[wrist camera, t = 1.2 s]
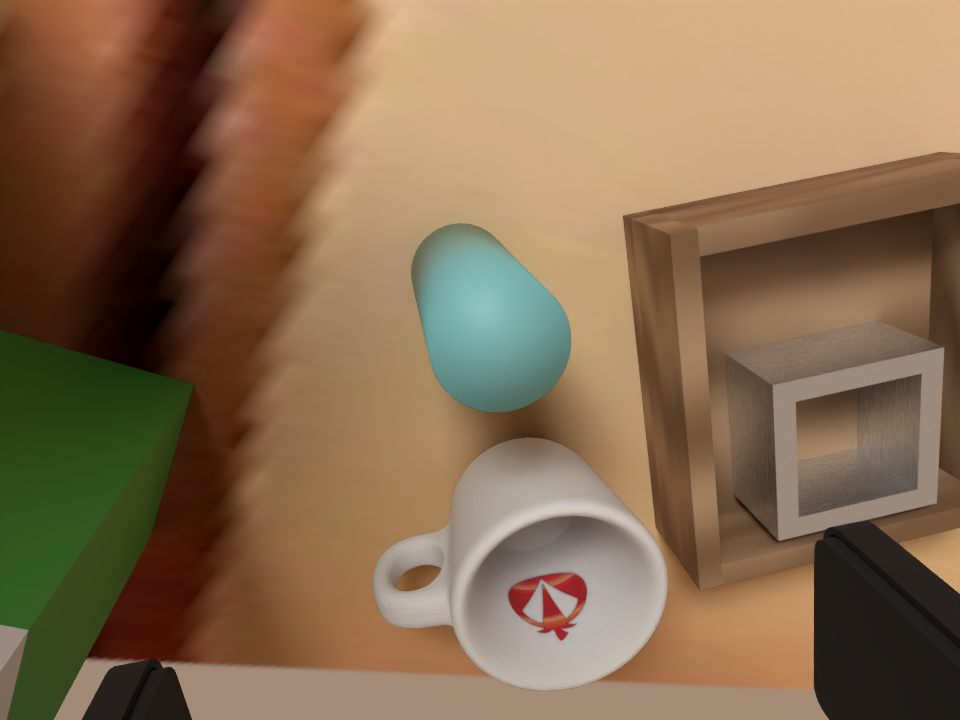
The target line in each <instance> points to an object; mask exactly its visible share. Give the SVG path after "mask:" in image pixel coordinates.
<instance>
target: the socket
mask: <svg viewBox="0 0 960 720" xmlns="http://www.w3.org/2000/svg"><path fill="white" fill-rule="evenodd" d="M943 364H944V347H942V346H940V345H937V344H935V343H933V342H930V341H928V340H925V339H923V338H920V337H918V336H915V335H913V334H910V333H908V332H905V331H903V330H900V329H898V328H895V327H893V326H890V325H888V324H885V323H883V322H880V321H878V320H874V321H870V322H865V323H860V324H856V325H851V326H846V327H842V328H837V329H833V330H828V331H823V332H819V333H814V334H810V335H805V336H800V337H796V338H791V339H787V340H782V341H777V342H773V343H768V344H763V345H759V346H754V347H750V348H745V349H740V350H736V351H731V352H727V353H725V368H726V384H727V400H728V417H729V433H730V449H731V465H732V481H733V494H734V495H735V496H736V497H737V498H738V499H739V500H740V501H741V502H742V503H743V504H744V505H745V506H746V507H747V508H748V509H749V510H750V511H751V513H752V514H753V515H754V516H755V517H756V518H757V519H758V520H759V521H760V522H761V523H762V524H763V525H764V526H765V527H766V528H767V529H768V530H769V531H770V532H771V533H772V535H773V536H774V537H775V538H776V539H777V540H778V541H781V540H785V539H789V538H793V537H797V536H802V535H806V534H810V533H814V532H818V531H822V530H826V529H827V528H829V527H833V526H838V525H844V524H849V523H854V522H859V521H864V520H869V519H873V518H877V517H881V516H885V515H890V514H894V513H898V512H902V511H906V510H911V509H915V508H919V507H923V506H927V505H932V504H936V503H937V489H938V469H939V448H940V427H941V406H942V385H943ZM855 388H857V448H854V449H849V450H845V451H841V452H836V453H832V454H828V455H823V456H819V457H815V458H810V459H806V460H802V461H797V433H796V402H797V401H802V400H806V399H811V398H815V397H819V396H824V395H828V394H833V393H837V392H842V391H846V390H851V389H855Z"/></svg>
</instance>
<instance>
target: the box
mask: <svg viewBox="0 0 960 720" xmlns="http://www.w3.org/2000/svg"><path fill="white" fill-rule="evenodd" d="M623 219H624V229H625V238H626V248H627V257H628V267H629V276H630V286H631V295H632V305H633V314H634V324H635V333H636V343H637V352H638V362H639V371H640V380H641V390H642V399H643V409H644V418H645V428H646V437H647V447H648V456H649V466H650V475H651V485H652V494H653V504H654V513H655V523H656V527H657V529H658V530H659V532H660V533H661V535H662V536H663V537H664V539H665V540H666V542H667V543H668V545H669V546H670V548H671V549H672V550H673V552H674V553H675V555H676V556H677V558H678V559H679V561H680V562H681V564H682V565H683V566H684V568H685V569H686V571H687V572H688V574H689V575H690V577H691V578H692V580H693V581H694V582H695V584H696V585H697V587H698V588H699V590H704V589H708V588H712V587H716V586H720V585H725V584H729V583H733V582H737V581H741V580H745V579H749V578H754V577H758V576H762V575H766V574H770V573H774V572H778V571H783V570H787V569H791V568H795V567H799V566H803V565H807V564H811V563H814V548H815V543H816V541H818V540H820V539H823V535H824V532H825V530H822V531H818V532H814V533H810V534H806V535H802V536H797V537H793V538H789V539H785V540H781V541H778V540H777V539H776V538H775V537H774V536H773V535H772V533H771V532H770V531H769V530H768V529H767V528H766V527H765V526H764V525H763V524H762V523H761V522H760V521H759V520H758V519H757V518H756V517H755V516H754V515H753V514H752V513H751V511H750V510H749V509H748V508H747V507H746V506H745V505H744V504H743V503H742V502H741V501H740V500H739V499H738V498H737V497H736V496H735V495H734V494H733V481H732V465H731V449H730V433H729V417H728V400H727V384H726V368H725V353H727V352H731V351H736V350H740V349H745V348H750V347H754V346H759V345H763V344H768V343H773V342H777V341H782V340H787V339H791V338H796V337H800V336H805V335H810V334H814V333H819V332H823V331H828V330H833V329H837V328H842V327H846V326H851V325H856V324H860V323H865V322H870V321H874V320H878V321H880V322H883V323H885V324H888V325H890V326H893V327H895V328H898V329H900V330H903V331H905V332H908V333H910V334H913V335H915V336H918V337H920V338H923V339H925V340H928V341H930V342H933V343H935V344H937V345H940V346H942V347H944V364H943V385H942V406H941V427H940V448H939V469H938V489H937V503H936V504H932V505H927V506H923V507H919V508H915V509H911V510H906V511H902V512H898V513H894V514H890V515H885V516H881V517H877V518H873V519H869V520H864V521H870V522H871V523H873V524H875V525H876V526H877V527H878V528H880V529H881V530H882V531H883V532H884V533H886V534H887V535H888V536H889V537H891V538H892V539H893V540H894V541H895V542H897V543H898V542H903V541H907V540H911V539H915V538H919V537H923V536H927V535H932V534H936V533H940V532H944V531H948V530H952V529H956V528H960V153H946V152H939V153H934V154H929V155H924V156H919V157H914V158H909V159H904V160H899V161H894V162H889V163H884V164H879V165H874V166H869V167H864V168H859V169H854V170H849V171H844V172H839V173H834V174H829V175H824V176H819V177H814V178H809V179H804V180H799V181H794V182H789V183H784V184H779V185H774V186H769V187H764V188H759V189H754V190H749V191H744V192H739V193H734V194H729V195H724V196H719V197H714V198H709V199H704V200H699V201H694V202H689V203H684V204H679V205H674V206H669V207H664V208H659V209H654V210H649V211H644V212H639V213H634V214H629V215H624V216H623ZM796 433H797V461H802V460H806V459H810V458H815V457H819V456H823V455H828V454H832V453H836V452H841V451H845V450H849V449H854V448H857V388H855V389H851V390H846V391H842V392H837V393H833V394H828V395H824V396H819V397H815V398H811V399H806V400H802V401H797V402H796Z"/></svg>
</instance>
